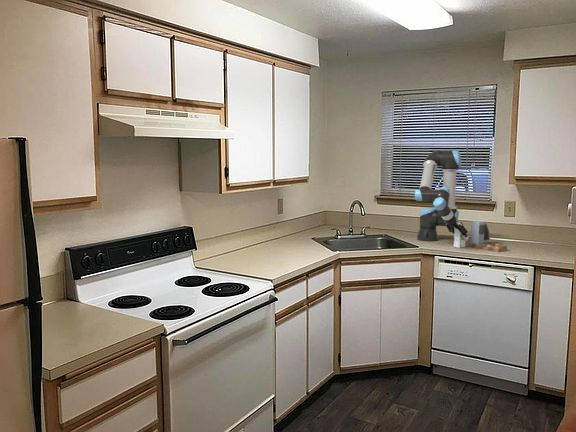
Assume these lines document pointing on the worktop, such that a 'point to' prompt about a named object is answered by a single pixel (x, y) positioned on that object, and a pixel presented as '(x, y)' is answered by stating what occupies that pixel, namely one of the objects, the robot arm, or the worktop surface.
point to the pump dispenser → (486, 234)
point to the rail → (490, 247)
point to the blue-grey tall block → (477, 232)
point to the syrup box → (459, 239)
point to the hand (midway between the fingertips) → (463, 238)
